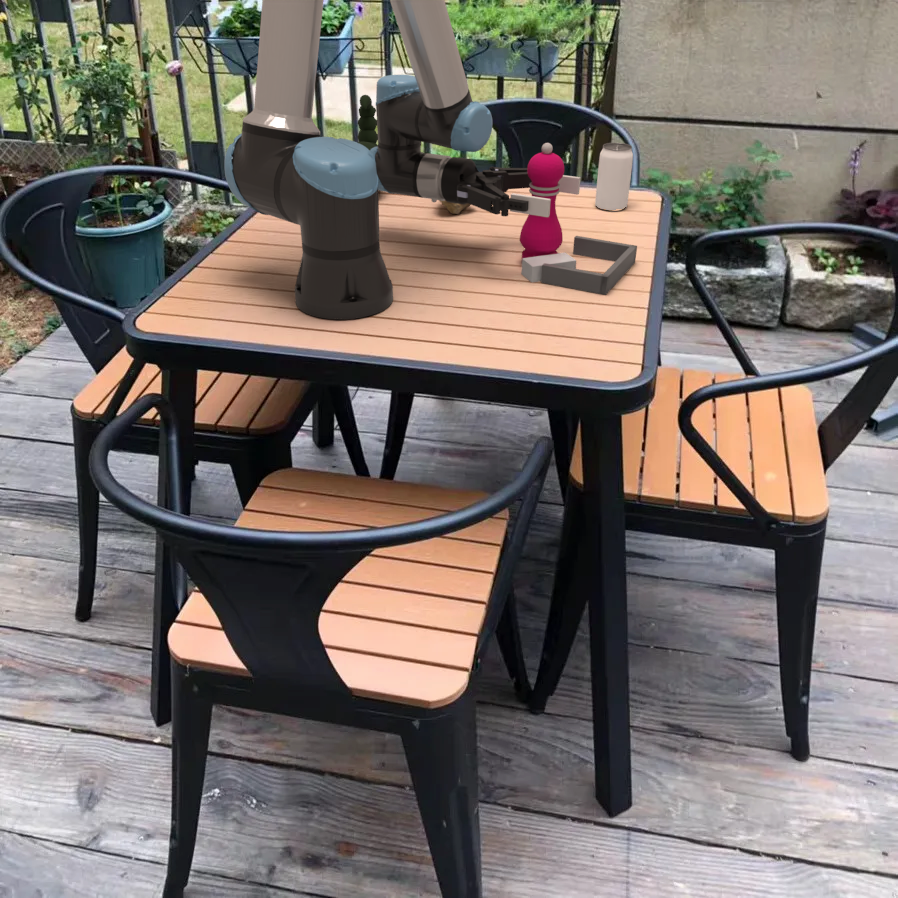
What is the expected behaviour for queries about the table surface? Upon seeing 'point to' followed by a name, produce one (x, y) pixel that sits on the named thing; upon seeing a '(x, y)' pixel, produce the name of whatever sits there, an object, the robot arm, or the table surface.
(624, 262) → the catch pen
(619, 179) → the can
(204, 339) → the table surface
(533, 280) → the white block
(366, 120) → the toy figurine
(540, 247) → the pepper mill
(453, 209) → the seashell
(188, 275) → the table surface
